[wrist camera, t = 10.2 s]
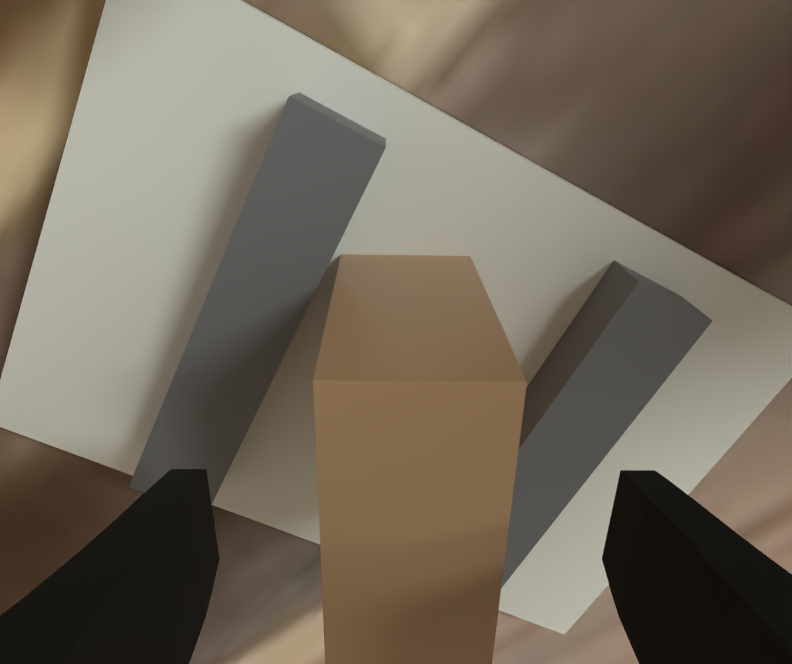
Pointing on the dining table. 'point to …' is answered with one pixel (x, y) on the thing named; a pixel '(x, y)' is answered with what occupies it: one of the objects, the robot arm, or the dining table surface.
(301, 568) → the dining table surface
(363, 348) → the tan wooden block
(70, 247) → the board
